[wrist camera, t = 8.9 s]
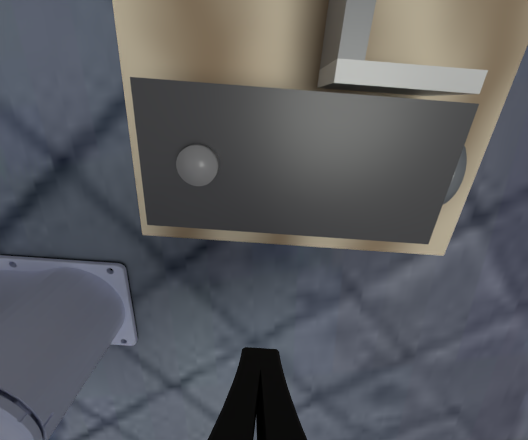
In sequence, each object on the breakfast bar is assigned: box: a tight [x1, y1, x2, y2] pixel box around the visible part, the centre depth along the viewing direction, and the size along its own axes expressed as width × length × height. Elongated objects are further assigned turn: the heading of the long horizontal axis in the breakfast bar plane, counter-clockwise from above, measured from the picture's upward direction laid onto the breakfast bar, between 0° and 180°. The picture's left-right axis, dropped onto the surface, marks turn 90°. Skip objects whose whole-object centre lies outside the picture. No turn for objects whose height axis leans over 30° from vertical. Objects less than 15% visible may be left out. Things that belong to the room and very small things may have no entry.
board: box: [112, 0, 528, 256], centre depth 15 cm, size 20×14×1 cm
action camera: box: [130, 77, 479, 244], centre depth 13 cm, size 14×6×5 cm, turn 86°
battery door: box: [317, 0, 488, 96], centre depth 11 cm, size 6×4×4 cm
